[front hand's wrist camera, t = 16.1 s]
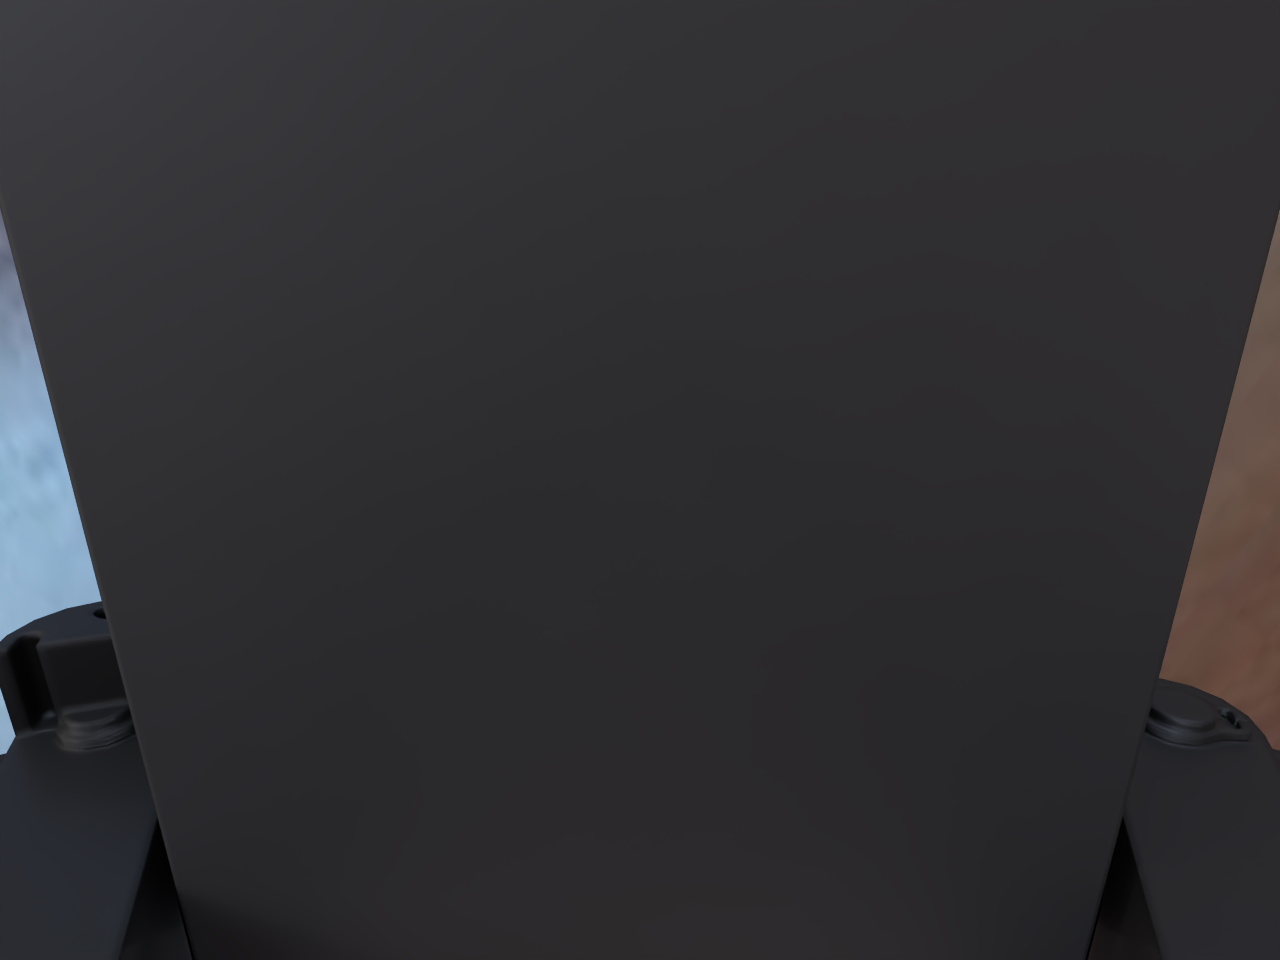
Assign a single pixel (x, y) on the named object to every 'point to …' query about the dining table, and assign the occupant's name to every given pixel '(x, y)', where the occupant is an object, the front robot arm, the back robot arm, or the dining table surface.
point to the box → (640, 448)
